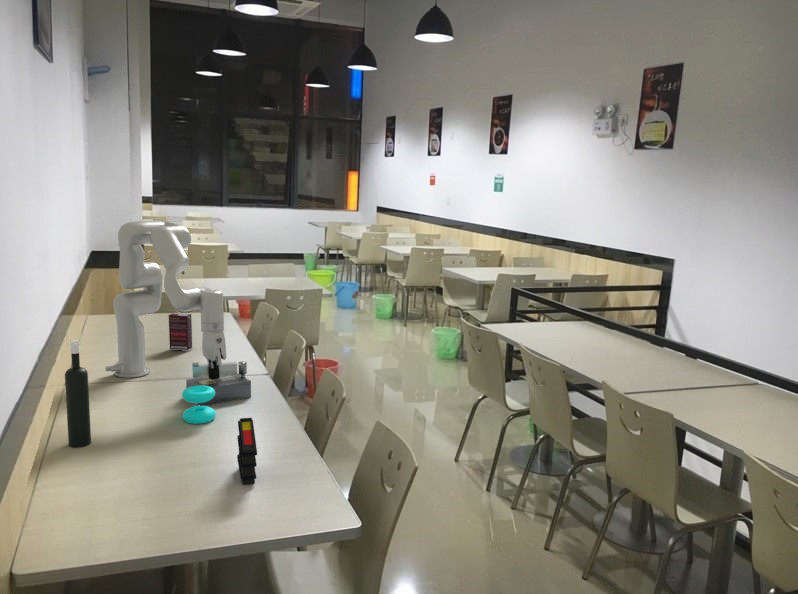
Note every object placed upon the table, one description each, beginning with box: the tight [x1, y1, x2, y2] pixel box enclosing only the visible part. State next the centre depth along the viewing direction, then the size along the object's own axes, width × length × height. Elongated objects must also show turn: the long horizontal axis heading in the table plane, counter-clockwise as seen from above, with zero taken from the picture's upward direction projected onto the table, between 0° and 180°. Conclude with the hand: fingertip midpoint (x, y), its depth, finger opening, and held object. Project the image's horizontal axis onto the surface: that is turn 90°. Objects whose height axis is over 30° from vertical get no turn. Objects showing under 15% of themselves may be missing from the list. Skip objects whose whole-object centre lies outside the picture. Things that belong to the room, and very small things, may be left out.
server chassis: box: [185, 372, 252, 406], centre depth 232 cm, size 20×13×7 cm, turn 129°
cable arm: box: [191, 361, 248, 379], centre depth 234 cm, size 18×3×5 cm, turn 111°
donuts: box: [181, 385, 217, 425], centre depth 210 cm, size 10×10×10 cm
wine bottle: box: [64, 339, 92, 449], centre depth 186 cm, size 6×6×30 cm
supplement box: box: [168, 312, 193, 352], centre depth 290 cm, size 9×5×16 cm, turn 84°
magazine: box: [236, 417, 258, 486], centre depth 171 cm, size 4×13×15 cm, turn 18°
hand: (214, 378), depth 230 cm, fingers closed
